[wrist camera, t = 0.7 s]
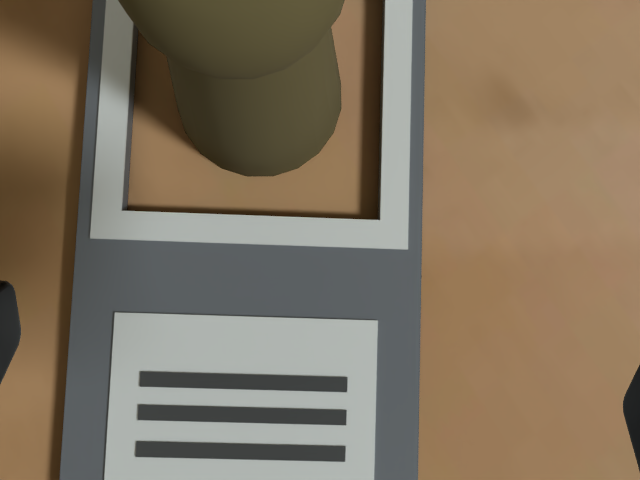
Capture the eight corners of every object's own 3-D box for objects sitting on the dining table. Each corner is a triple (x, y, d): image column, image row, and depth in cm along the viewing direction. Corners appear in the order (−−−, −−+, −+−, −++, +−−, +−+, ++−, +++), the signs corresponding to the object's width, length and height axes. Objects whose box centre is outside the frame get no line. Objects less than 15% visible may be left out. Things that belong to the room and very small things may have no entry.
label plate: (412, 600, 21) (416, 611, 20) (58, 594, 20) (48, 605, 19) (423, -39, 23) (427, -51, 22) (102, -55, 22) (95, -67, 22)
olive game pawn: (148, 60, 22) (1, -170, 11) (295, -10, 22) (291, -299, 12) (223, 206, 22) (146, 115, 11) (370, 131, 22) (441, -30, 11)
